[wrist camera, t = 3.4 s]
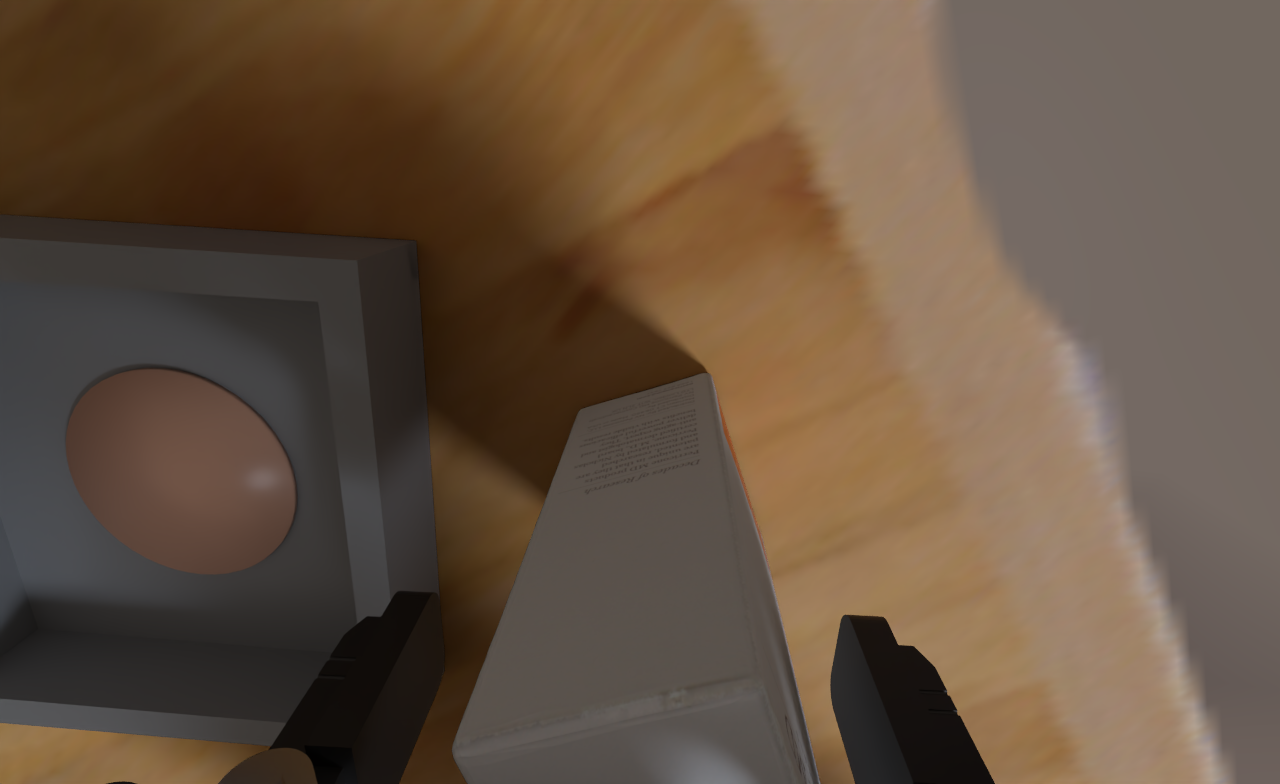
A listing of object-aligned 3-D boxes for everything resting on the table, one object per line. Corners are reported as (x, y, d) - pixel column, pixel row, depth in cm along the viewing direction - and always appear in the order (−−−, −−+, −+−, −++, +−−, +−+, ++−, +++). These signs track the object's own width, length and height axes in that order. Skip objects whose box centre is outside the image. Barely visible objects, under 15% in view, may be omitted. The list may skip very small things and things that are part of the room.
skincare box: (766, 536, 20) (879, 1008, 9) (638, 568, 21) (596, 1046, 10) (712, 361, 18) (771, 685, 7) (573, 402, 19) (428, 758, 8)
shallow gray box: (416, 240, 18) (356, 260, 14) (444, 670, 23) (405, 757, 20) (-113, 207, 18) (-287, 219, 15) (34, 637, 23) (-71, 716, 20)
